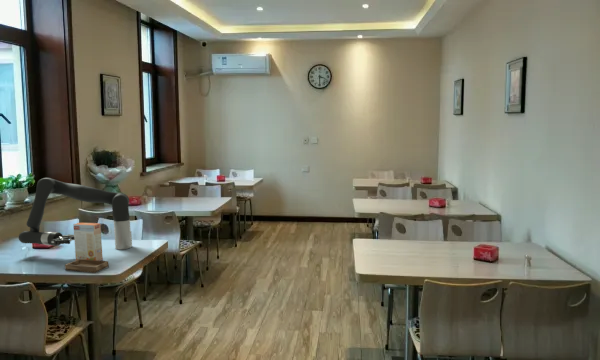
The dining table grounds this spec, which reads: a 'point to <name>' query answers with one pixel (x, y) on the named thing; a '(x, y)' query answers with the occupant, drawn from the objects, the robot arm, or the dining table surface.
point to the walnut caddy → (86, 265)
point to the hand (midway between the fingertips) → (75, 240)
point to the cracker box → (88, 241)
